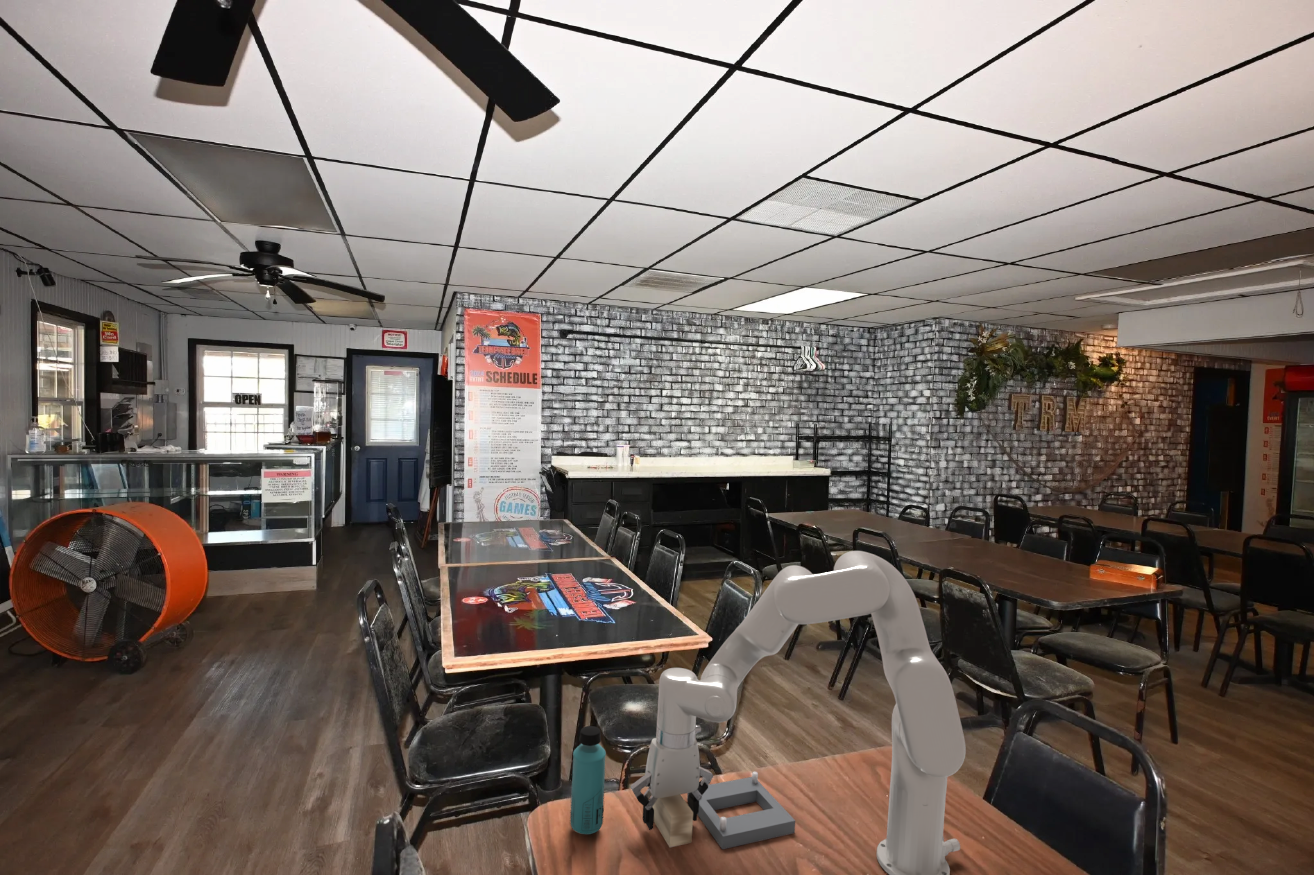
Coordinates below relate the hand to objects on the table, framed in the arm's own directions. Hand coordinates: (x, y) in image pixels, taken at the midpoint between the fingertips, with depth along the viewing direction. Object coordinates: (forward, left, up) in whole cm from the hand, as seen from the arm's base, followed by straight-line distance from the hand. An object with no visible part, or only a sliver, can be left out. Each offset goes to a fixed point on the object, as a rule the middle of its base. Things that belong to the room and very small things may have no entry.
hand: (670, 821), depth 126 cm
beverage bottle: (+16, -4, -2) cm, 17 cm away
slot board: (-15, +1, -2) cm, 15 cm away
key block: (0, 0, -2) cm, 2 cm away
